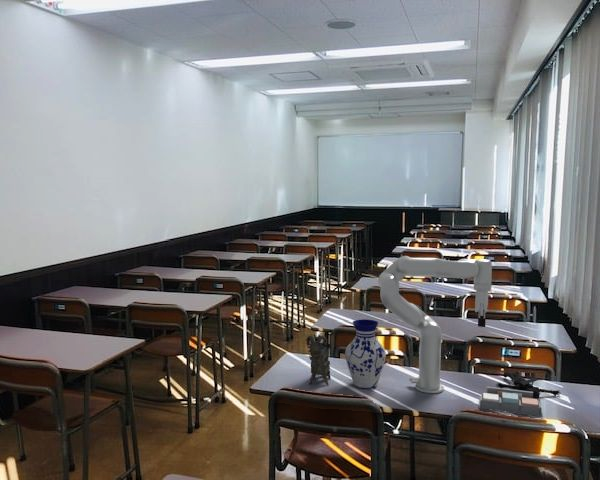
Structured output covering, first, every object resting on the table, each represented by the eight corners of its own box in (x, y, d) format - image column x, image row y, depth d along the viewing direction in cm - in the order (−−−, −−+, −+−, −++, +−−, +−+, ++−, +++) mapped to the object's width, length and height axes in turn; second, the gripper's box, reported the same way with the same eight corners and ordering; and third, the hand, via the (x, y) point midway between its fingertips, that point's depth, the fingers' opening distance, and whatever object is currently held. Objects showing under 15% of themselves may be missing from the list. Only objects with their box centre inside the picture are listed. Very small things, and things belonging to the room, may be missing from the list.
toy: (478, 377, 248) (500, 399, 218) (480, 362, 248) (503, 383, 218) (538, 385, 247) (568, 408, 217) (540, 370, 247) (571, 392, 217)
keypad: (479, 408, 213) (479, 394, 212) (479, 398, 223) (480, 385, 223) (542, 416, 204) (542, 402, 204) (540, 405, 215) (540, 392, 214)
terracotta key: (522, 409, 208) (522, 402, 208) (521, 404, 213) (521, 397, 213) (538, 411, 206) (538, 404, 205) (537, 406, 211) (537, 399, 211)
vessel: (305, 391, 233) (302, 338, 233) (313, 376, 258) (311, 328, 257) (328, 391, 231) (326, 337, 231) (334, 376, 256) (332, 327, 256)
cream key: (483, 404, 213) (483, 398, 213) (483, 399, 219) (483, 392, 218) (498, 406, 211) (498, 399, 211) (498, 401, 217) (498, 394, 216)
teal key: (502, 404, 210) (502, 397, 210) (502, 399, 216) (502, 392, 216) (518, 406, 208) (518, 399, 208) (517, 400, 214) (517, 393, 214)
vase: (386, 393, 230) (386, 328, 227) (344, 391, 232) (344, 327, 230) (384, 378, 249) (385, 318, 246) (345, 377, 251) (345, 317, 248)
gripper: (474, 283, 239) (473, 321, 240) (473, 289, 225) (472, 329, 227) (491, 284, 236) (490, 323, 238) (491, 290, 222) (490, 331, 224)
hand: (481, 326), depth 232 cm, fingers closed
